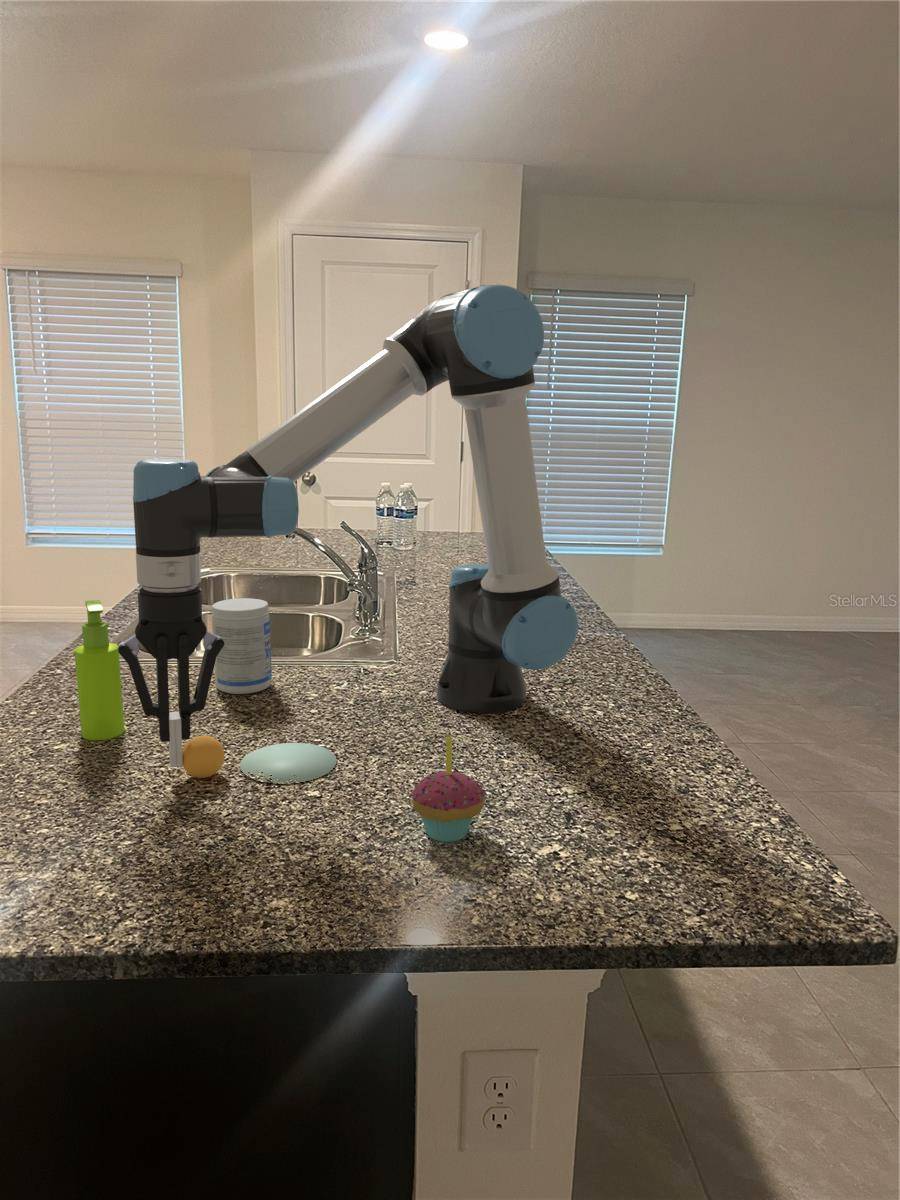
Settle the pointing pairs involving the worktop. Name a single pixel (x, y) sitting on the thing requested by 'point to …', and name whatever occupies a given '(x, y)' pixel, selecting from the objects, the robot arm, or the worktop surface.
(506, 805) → the worktop surface
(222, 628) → the supplement tub
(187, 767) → the ball
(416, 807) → the cupcake
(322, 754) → the smooth pale green disc
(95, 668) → the soap dispenser
